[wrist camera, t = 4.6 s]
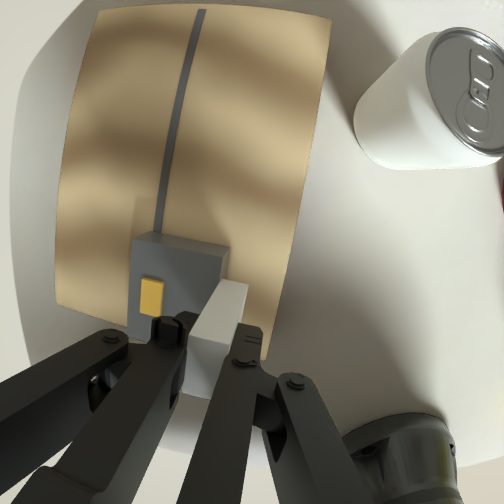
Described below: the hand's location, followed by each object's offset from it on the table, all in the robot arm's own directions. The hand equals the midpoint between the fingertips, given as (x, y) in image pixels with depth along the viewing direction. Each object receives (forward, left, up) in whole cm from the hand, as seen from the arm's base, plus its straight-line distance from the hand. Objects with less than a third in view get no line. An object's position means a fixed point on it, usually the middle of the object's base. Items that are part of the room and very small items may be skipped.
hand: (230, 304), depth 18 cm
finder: (0, +3, -2) cm, 4 cm away
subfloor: (+7, +5, -7) cm, 11 cm away
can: (+13, -9, -7) cm, 17 cm away
